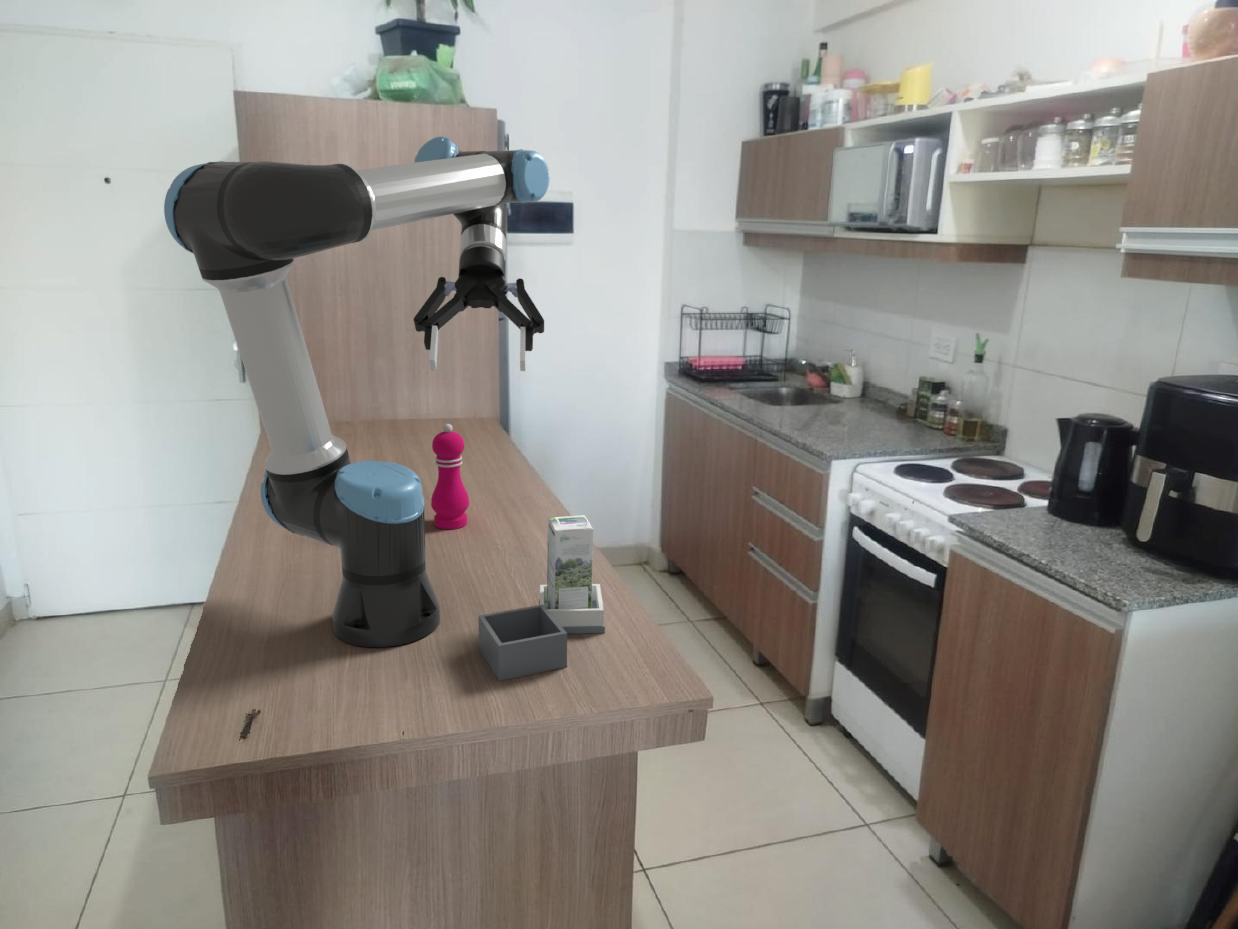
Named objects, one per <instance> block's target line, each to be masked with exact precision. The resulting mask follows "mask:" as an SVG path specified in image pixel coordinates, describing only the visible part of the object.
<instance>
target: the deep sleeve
mask: <svg viewBox="0 0 1238 929" xmlns="http://www.w3.org/2000/svg"><path fill="white" fill-rule="evenodd" d="M478 646H479V647H478V648H479V651H480V652H481V653H482V655H483V657H484V658H485V660H486V662H487V663H488V665H489V666H490V668H491V670H492V671H493V673H494V675H495V676H496V678H497V679H498V681H500V682H501V681H504V680H509V679H514V678H519V677H524V676H529V675H533V674H539V673H544V672H549V671H553V670H558V669H564V668H567V667H568V633H567V632H566V631H565V630H564V629H563V628H562V626H561V625H560V624H559V623H558V622H557V621H556V619H555V618H554V617H553V616H552V615H551V613H550V612H549V611H548V610H547V609H546V608H545V606H544V605H539V604H538V605H531V606H526V607H520V608H515V609H508V610H504V611H497V612H492V613H486V614H485V613H484V614H480V615H478Z"/></svg>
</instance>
